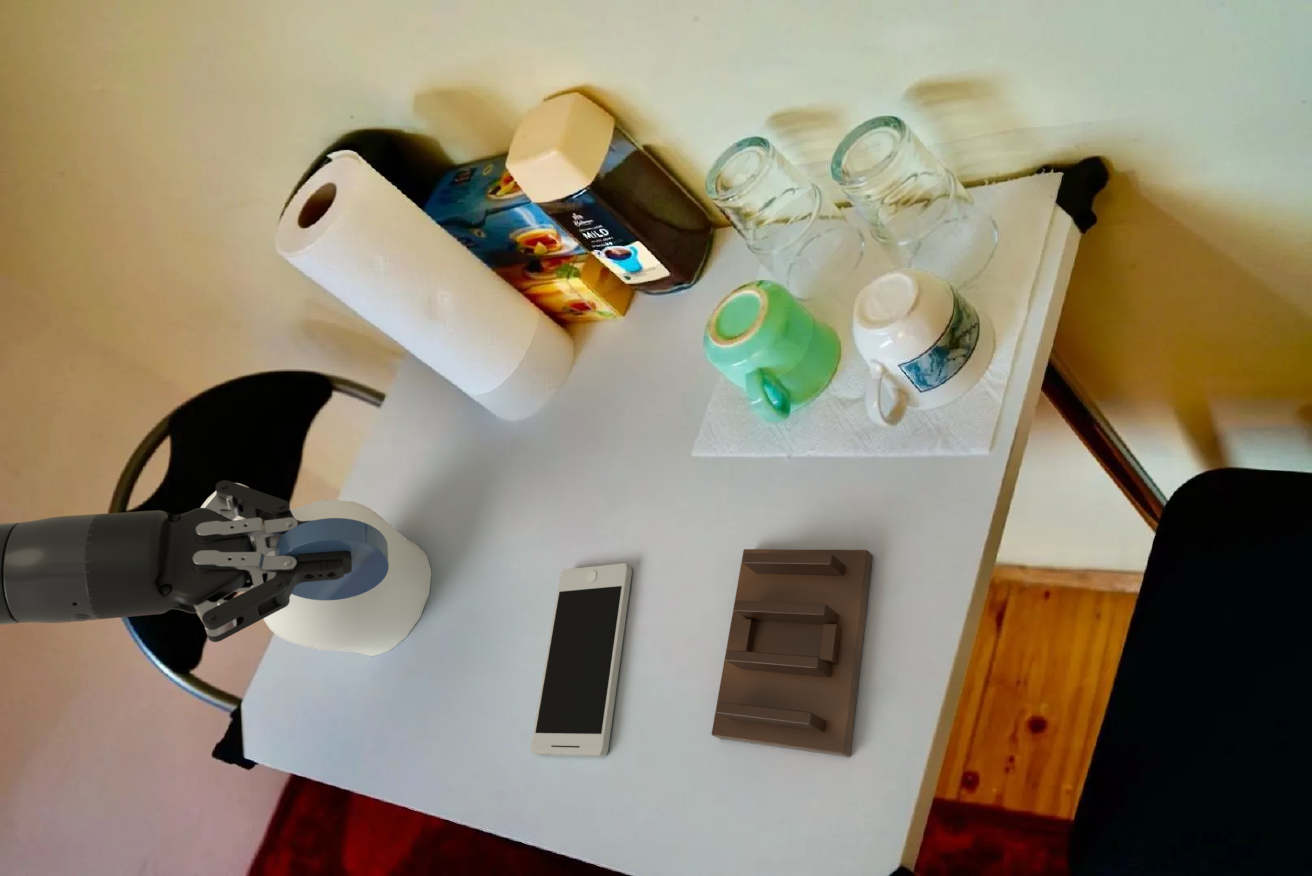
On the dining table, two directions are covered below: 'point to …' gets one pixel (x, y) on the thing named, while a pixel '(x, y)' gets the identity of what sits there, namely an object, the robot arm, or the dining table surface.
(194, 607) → the robot arm
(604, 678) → the smartphone
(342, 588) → the disc
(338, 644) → the vase
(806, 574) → the rack
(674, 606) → the dining table surface
